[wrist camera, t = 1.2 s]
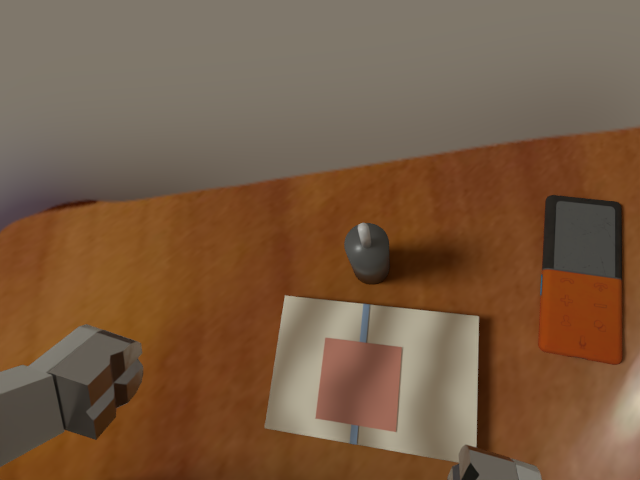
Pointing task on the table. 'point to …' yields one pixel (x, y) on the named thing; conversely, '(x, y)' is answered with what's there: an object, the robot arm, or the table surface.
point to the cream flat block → (376, 376)
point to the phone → (582, 279)
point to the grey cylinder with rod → (368, 252)
